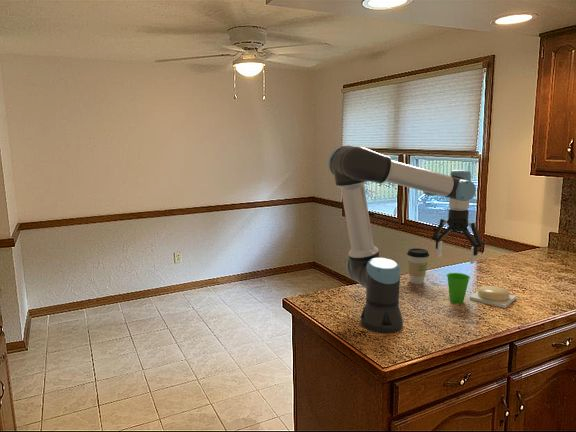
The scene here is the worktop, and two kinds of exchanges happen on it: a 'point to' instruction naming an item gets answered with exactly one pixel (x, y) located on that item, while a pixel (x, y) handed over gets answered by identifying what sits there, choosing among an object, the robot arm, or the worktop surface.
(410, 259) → the coffee cup
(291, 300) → the worktop surface
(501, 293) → the domed square tile
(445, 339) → the worktop surface
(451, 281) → the cup
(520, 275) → the worktop surface
